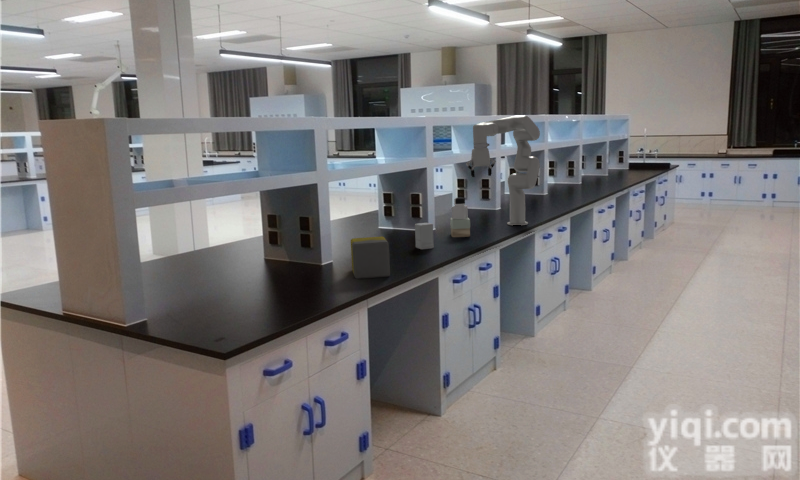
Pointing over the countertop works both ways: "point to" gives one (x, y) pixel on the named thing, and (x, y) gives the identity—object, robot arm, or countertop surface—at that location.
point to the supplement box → (424, 235)
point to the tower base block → (460, 232)
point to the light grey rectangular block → (459, 209)
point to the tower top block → (459, 223)
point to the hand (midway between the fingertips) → (481, 176)
